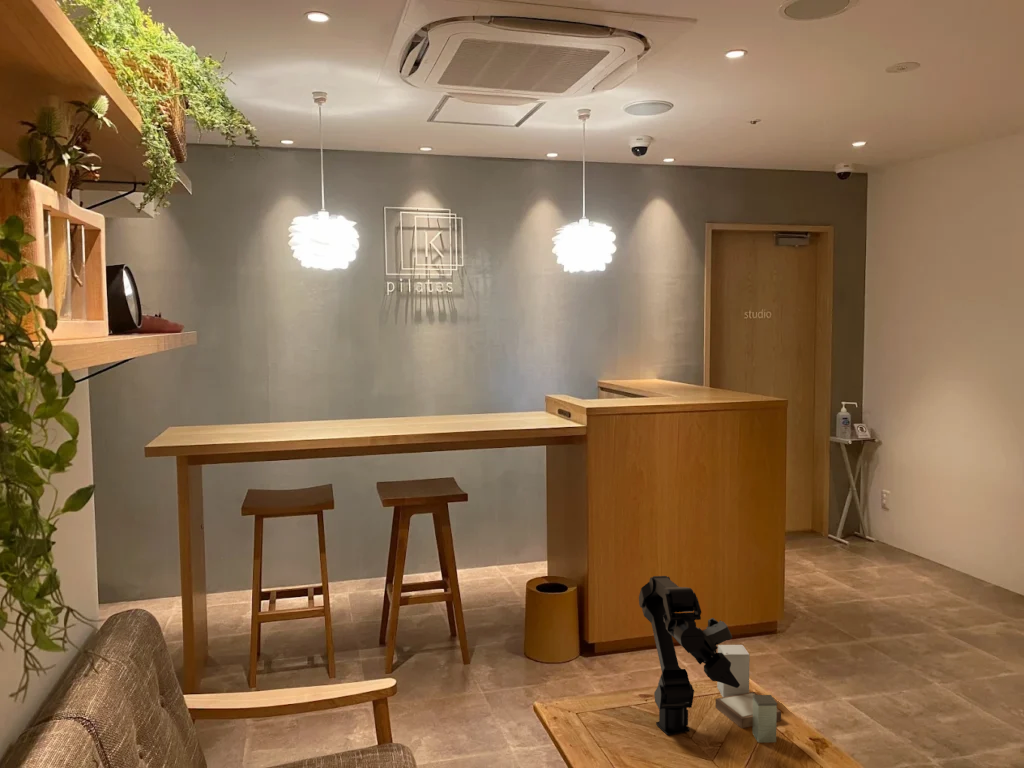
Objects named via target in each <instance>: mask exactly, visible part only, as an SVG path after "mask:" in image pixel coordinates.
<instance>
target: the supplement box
mask: <svg viewBox="0 0 1024 768" xmlns="http://www.w3.org/2000/svg"><path fill="white" fill-rule="evenodd" d="M717 647H718V648H717V653H723V654H724V655H725V656H726V657H727V658H728V660H729V661H730V662H731V667H730V671H731V672H732V674H733V675H734V677H735V678H736V680H737V681H738V683H739V684H740V686H739V687H738V688H735V687H732V686H730V685H727V684H724V683H721V682H717V681H716V682H717V683H716V684H717V685H716V687H717V690H718V691H719V693H720V695H721V696H722V697H728V696H733V695H739V694H745V693H750V660H751V659H750V657H751V656H750V653H749V651H748V650H747V649H746V647H745V646H744V645H743V644H718V645H717ZM722 697H721V698H722Z"/></svg>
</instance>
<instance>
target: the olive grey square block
mask: <svg viewBox="0 0 1024 768" xmlns="http://www.w3.org/2000/svg"><path fill="white" fill-rule="evenodd" d="M777 707H778V702H777V701H776V700H775V698H774V697H773V695H772V694H757V695H753V726H752V735H753V737H754V739H755V740H756V742H757V743H763V744H764V743H777V721H776V720H777V709H778V708H777Z"/></svg>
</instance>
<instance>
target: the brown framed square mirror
mask: <svg viewBox="0 0 1024 768" xmlns="http://www.w3.org/2000/svg"><path fill="white" fill-rule="evenodd" d="M753 695H758V694H757V693H755V692H754V691H751V692H750V691H749V693H745V694H739V695H733V696H728V697H718V698H715V709H717V711H719V712H721V714H723V715H724V716H726V718H728V719H729V720H730V721H731V722H734V724H735V725H737V726H738V727H739V728H740V729H745V728H750V727H753ZM781 721H782V710H780V709H779V708H777V720H776V722H781Z"/></svg>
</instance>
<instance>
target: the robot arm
mask: <svg viewBox="0 0 1024 768" xmlns="http://www.w3.org/2000/svg"><path fill="white" fill-rule="evenodd" d="M639 591H640V592H639V595H638V605H639V608H641V610H642V615H643V616H644V618H646V620H647V621H648V622H649V623H651V627H652V628H651V629H652V633H653V637H654V642H655V646H656V651H657V656H658V660H659V665H660V666H659V667H660V670H661V675H660V678H659V680H658V683H657V687H656V689H655V691H654V694H653V695H654V703H655V704H656V706H657V708H658V709H659V712H658V713H659V715H658V716H659V717H658V721H656V723H655V725H657V727H658V728H659V729H661V731H663V732H664V733H665V734H666V735H667V736H672V735H677V734H682V733H688V732H690V731H691V729H690V727H688V726H689V710H688V708H689V709H691V708H692V706H693V703H694V696H695V695H694V694H695V689H694V687H693V685H692V683H691V682H690V678H689V674H688V671H687V670H686V669H685V668H681V666H680V665H679V661H678V658H677V653H676V648H675V644H674V639H675V640H676V642H677V643H678V644H679V645H681V647H682V648H683V649H684V650H685V651H686V652H687V653H688V654H690V655H691V656H692V657H693V658H694V659H695V660H696V662H697V663H698V664H699V665H702V664H704V665H703V672H704V673H705V674H706V676H707V677H708V678H709V679H710V681H711V682H721V683H724V684H727V685H730V686H732V687H735V688H738V687H739V686H740V684H739V683H738V681H737V680H736V678H735V677H734V675H733V674H732V672H731V671H730V667H731V662H730V661H729V660H728V658H727V657H726V656H725V655H724V654H723V653H718V651H717V650H718V645H721V644H722V643H725V642H726V641H730V640H731V639H733V635H732V633H731V631H730V629H729V627H728V625H727V624H726V622H725V621H721V620H719V621H717V619H715V618H714V617H711V618H710V619H708V620H707V626H706V629H703V630H702V628H701V627H698V626H697V623H696V621H699V620H701V619H702V617H701V614H702V609H701V606H700V601H699V598H698V596H697V594H696V592H694V590H693V588H691V587H687V586H679V585H678V584H676V583H675V582H674V581H672V580H671V577H670V576H667V575H657V576H656V575H654V576H652V577H650V578H649V581H648V582H647V583H646V584H644V585H643V586H642V587H640V590H639ZM673 638H674V639H673Z"/></svg>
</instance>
